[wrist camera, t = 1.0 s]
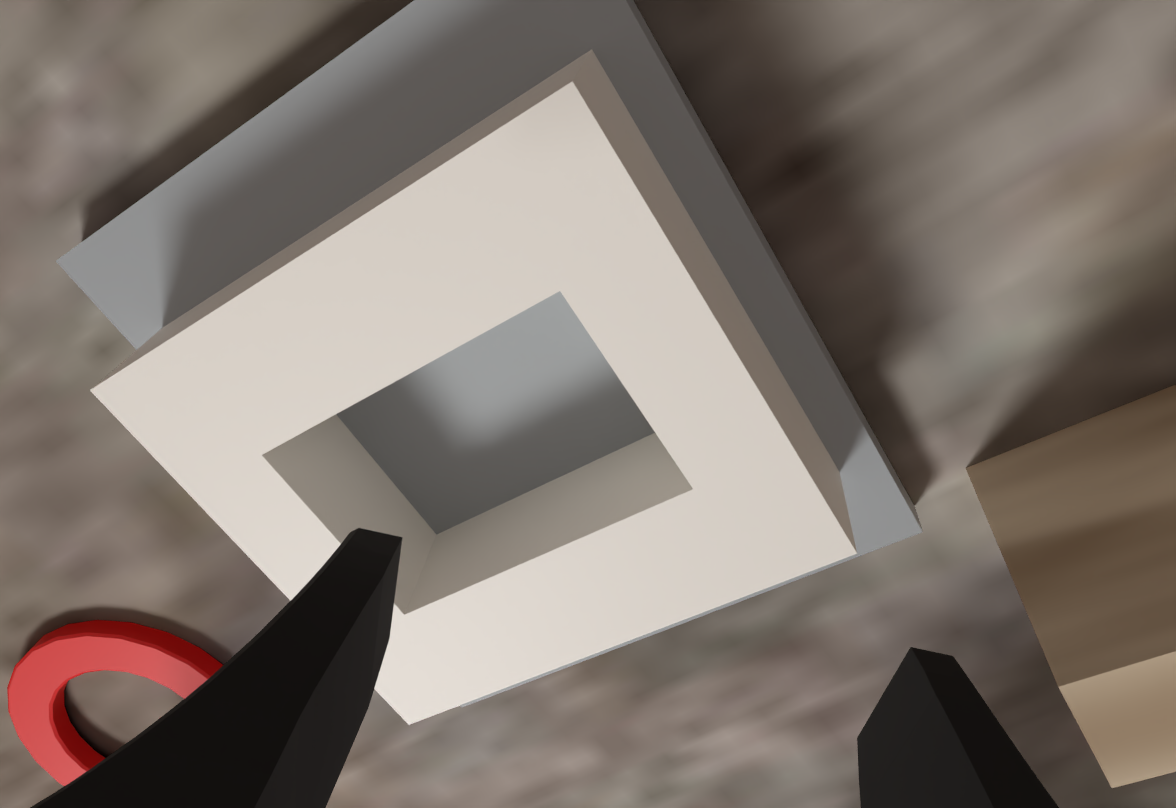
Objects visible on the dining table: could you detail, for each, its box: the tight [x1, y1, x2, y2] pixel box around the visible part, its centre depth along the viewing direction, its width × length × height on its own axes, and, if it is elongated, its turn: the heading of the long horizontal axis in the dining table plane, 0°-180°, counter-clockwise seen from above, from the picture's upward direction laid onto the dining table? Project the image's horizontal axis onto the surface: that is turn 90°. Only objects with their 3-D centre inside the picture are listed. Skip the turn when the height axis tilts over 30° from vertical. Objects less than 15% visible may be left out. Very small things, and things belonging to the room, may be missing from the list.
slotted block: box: [56, 0, 923, 725], centre depth 21 cm, size 16×14×4 cm
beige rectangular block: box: [966, 384, 1176, 788], centre depth 19 cm, size 3×5×7 cm, turn 122°
